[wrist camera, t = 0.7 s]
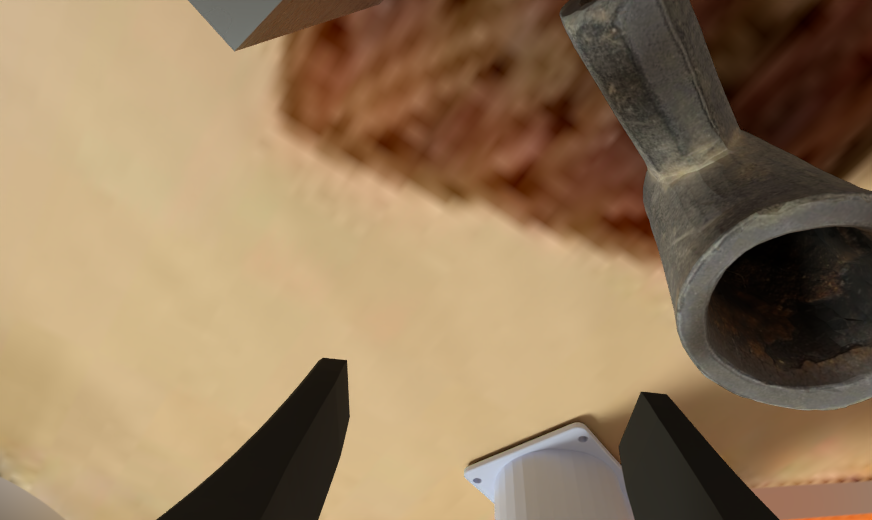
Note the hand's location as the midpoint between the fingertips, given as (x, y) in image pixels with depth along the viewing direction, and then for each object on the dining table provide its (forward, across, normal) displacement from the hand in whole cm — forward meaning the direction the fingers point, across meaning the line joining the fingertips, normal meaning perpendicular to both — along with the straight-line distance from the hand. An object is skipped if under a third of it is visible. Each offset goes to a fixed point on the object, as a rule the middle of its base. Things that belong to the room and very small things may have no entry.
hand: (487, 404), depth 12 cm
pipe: (+10, -6, -4) cm, 12 cm away
